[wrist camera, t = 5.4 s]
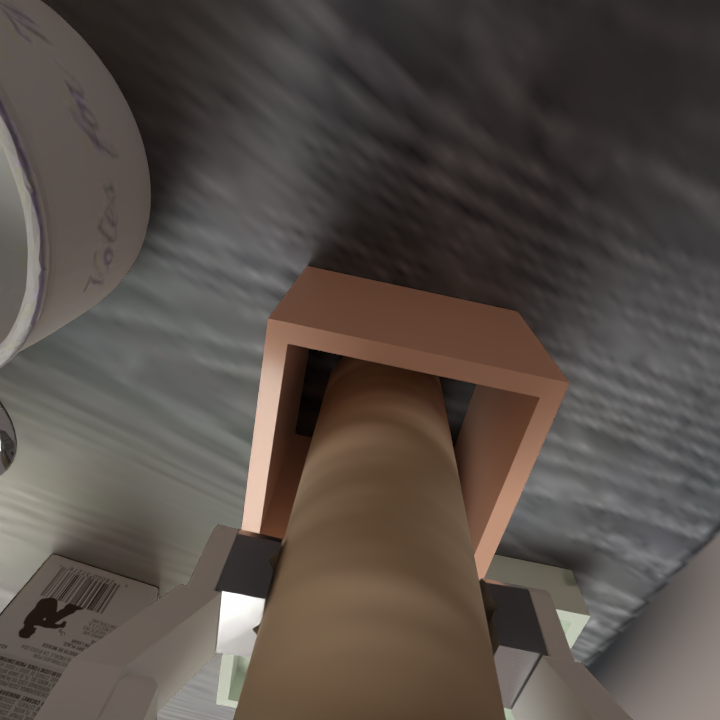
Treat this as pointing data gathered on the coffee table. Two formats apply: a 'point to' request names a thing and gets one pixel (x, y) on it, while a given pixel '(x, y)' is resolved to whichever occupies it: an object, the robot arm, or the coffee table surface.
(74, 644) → the coffee box
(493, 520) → the pink square ring
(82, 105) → the teacup
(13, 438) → the wine glass
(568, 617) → the tray
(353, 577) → the peg
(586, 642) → the coffee table surface
